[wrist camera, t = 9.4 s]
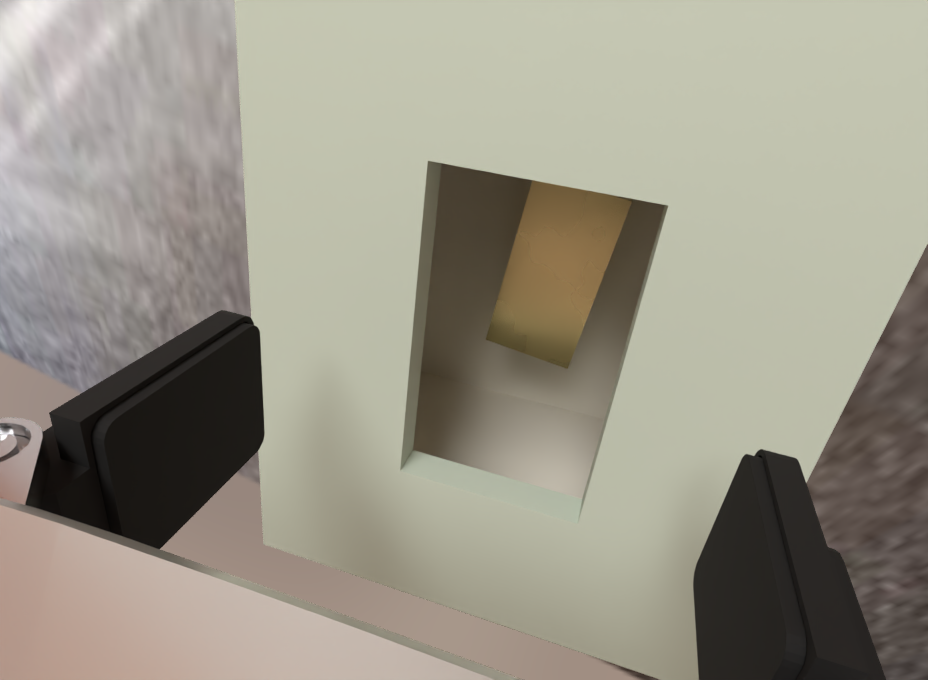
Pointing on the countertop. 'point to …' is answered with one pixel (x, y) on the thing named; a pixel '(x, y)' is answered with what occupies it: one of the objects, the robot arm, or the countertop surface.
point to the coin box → (617, 300)
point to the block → (555, 270)
